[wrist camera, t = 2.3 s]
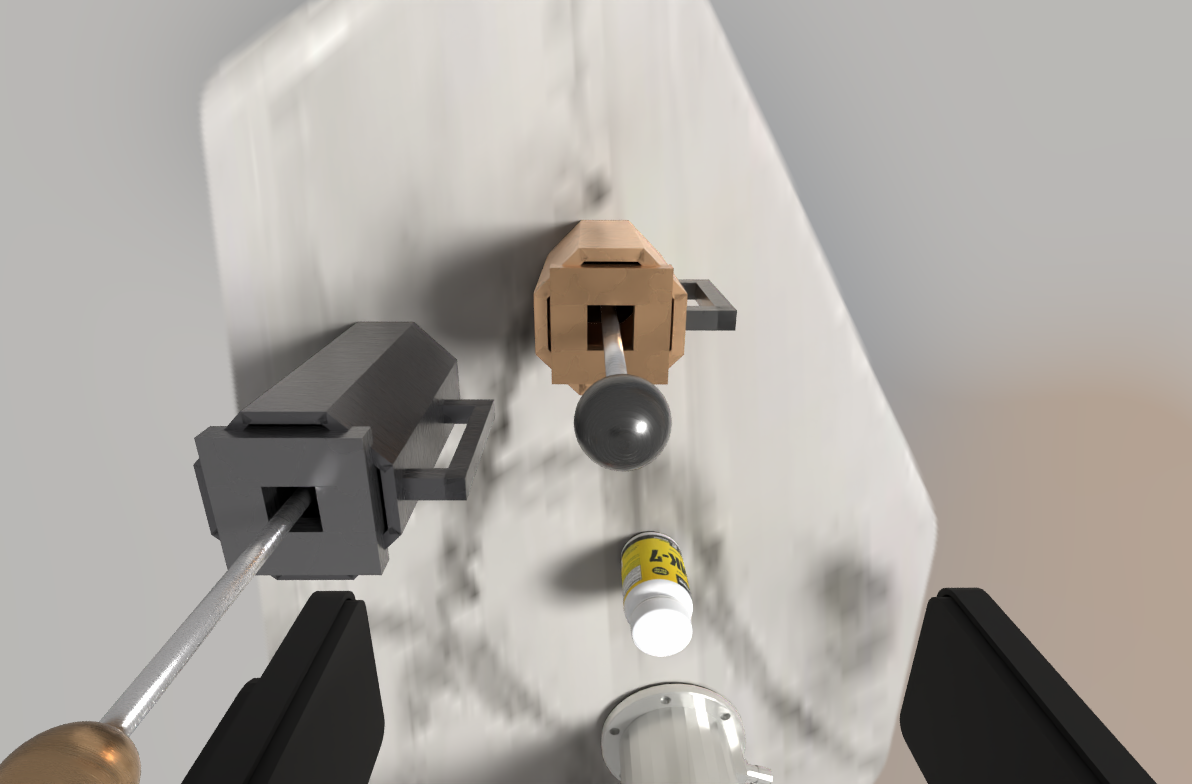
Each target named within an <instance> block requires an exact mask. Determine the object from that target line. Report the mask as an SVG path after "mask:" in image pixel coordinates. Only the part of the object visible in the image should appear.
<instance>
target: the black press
mask: <svg viewBox="0 0 1192 784" xmlns="http://www.w3.org/2000/svg"><path fill="white" fill-rule="evenodd" d="M494 419H495V408H494V400H460V392H459V380H458V367H457V360H456V359H455V358H454V357H453V356H452V355H451V354H450V353H448V352H447V351H446V350H445V349H444V348H443V347H442V346H441V345H439V344H438V343H437V342H436V341H435V340H434V339H433V338H431V337H430V336H429V335H428V334H427V333H426V332H425V331H424V330H422V329H421V328H420V327H419V326H418V325H417V324H416V323H414V322H357V323H355V324H354V325H353V326H352V327H350V328H349V329H348V330H346V331H345V332H344V333H342V334H341V335H340V336H338V337H337V338H336V339H335V340H333V341H332V342H331V343H329V344H328V345H327V346H325V347H324V348H323V349H321V350H320V351H319V352H317V353H316V354H315V355H314V356H312V357H311V358H310V359H308V360H307V361H306V362H304V363H303V364H302V365H300V366H299V367H298V368H296V369H295V370H294V371H293V372H291V373H290V374H289V375H287V376H286V377H285V378H283V379H282V380H281V381H279V382H278V383H277V384H276V385H274V386H273V387H272V388H270V389H269V390H268V391H266V392H265V393H264V394H262V395H261V396H260V397H258V398H257V399H256V400H255V401H253V402H252V403H251V404H249V405H248V406H247V407H245V408H244V409H243V410H241V411H240V412H239V414H238V415H237V416H236V417H235V418H234V419H233V420H232V421H231V423H230V424H229V425H228V426H210V427H208V428H207V429H206V430H204V431H203V432H202V433H200V434H199V435H198V436H196V437H195V438H194V439H195V442H196V446H197V450H198V454H199V459H198V460H197V461H196V462H195V464H194V469H195V473H196V477H197V481H198V485H199V489H200V492H201V496H202V500H203V504H204V508H205V512H206V516H207V520H208V523H209V527H210V531H211V535H213V536H214V537H216V538H217V539H219V540H220V541H221V545H222V549H223V553H224V557H225V561H226V565H227V569H229V568H230V567H231V566H232V565H233V564H234V562H235V561H236V560H237V559H238V558H239V556H240V555H241V554H242V553H243V552H244V551H245V549H246V548H247V547H248V546H249V545H250V544H251V542H252V541H253V540H254V539H255V538H256V536H257V535H258V534H259V533H260V532H261V531H262V529H263V528H264V527H265V526H266V525H267V523H268V522H269V521H270V520H271V519H272V518H273V516H274V515H275V514H276V513H277V512H278V511H279V509H280V508H281V507H282V506H283V505H284V503H285V502H286V501H287V500H288V499H289V498H290V496H291V495H292V494H293V493H294V492H295V490H296V489H297V488H298V487H315V489H316V495H317V496H316V497H315V498H314V500H313V501H312V502H311V503H310V505H309V506H308V507H307V509H306V510H305V511H304V512H303V514H302V515H301V516H300V518H299V519H298V520H297V521H296V523H295V524H294V525H293V527H292V528H291V529H290V530H289V532H288V533H287V534H286V536H285V537H284V538H283V539H282V541H281V542H280V543H279V545H278V546H277V547H276V548H275V550H274V551H273V552H272V554H271V555H270V556H269V557H268V559H267V560H266V561H265V563H264V564H263V565H262V566H261V568H260V569H259V570H258V572H257V573H256V574H255V575H271V576H272V577H274V578H275V579H277V580H354V579H355V578H356V577H357V576H358V575H382V574H383V571H384V569H385V567H386V565H387V563H388V561H389V554H388V547H389V546H390V545H391V544H392V543H393V542H394V541H395V540H396V539H397V538H398V537H399V536H400V535H401V534H402V532H403V530H404V528H405V526H406V524H407V522H408V520H409V518H410V516H411V514H412V512H413V510H414V507H415V505H416V503H417V501H418V500H467V497H468V495H469V492H470V489H471V486H472V483H473V480H474V477H475V474H476V471H477V468H478V465H479V462H480V459H481V457H482V454H483V451H484V448H485V445H486V442H487V439H488V436H489V433H490V430H491V427H492V424H493V421H494ZM454 424H467V426H466V428H465V431H464V433H463V435H462V438H461V440H460V442H459V445H458V447H457V449H456V452H455V454H454V456H453V458H452V461H451V463H450V465H449V468H434V466H435V464H436V462H437V459H438V457H439V455H440V453H441V451H442V449H443V447H444V445H445V443H446V441H447V439H448V437H449V434H450V432H451V430H452V428H453V426H454Z"/></svg>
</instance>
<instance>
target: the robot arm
mask: <svg viewBox="0 0 1192 784" xmlns="http://www.w3.org/2000/svg"><path fill="white" fill-rule="evenodd" d="M384 724H385V721H384V713H383V707H382V701H381V695H380V689H379V683H378V677H377V671H376V665H375V659H374V653H373V647H372V640H371V634H370V628H369V622H368V616H367V610H366V605H365V602H364V601H363V600H355V596H354V594H353V593H352V592H351V591H316V592H314V593H313V594H312V595H311V596H310V598H309V599H308V601H307V602H306V604H305V606H304V607H303V609H302V611H301V612H300V614H299V616H298V617H297V619H296V620H295V622H294V624H293V625H292V627H291V629H290V630H289V632H288V633H287V635H286V637H285V638H284V640H283V642H282V643H281V645H280V647H279V648H278V650H277V651H276V653H275V655H274V656H273V658H272V660H271V661H270V663H269V665H268V666H267V668H266V669H265V671H264V673H263V674H262V676H261V678H253V679H252V680H250V681H249V682H247V683H246V684H245V685H244V687H243V688H242V689H241V691H240V692H239V693H238V695H237V697H236V698H235V700H234V701H233V703H232V704H231V706H230V708H229V709H228V711H227V712H226V714H225V715H224V717H223V718H222V720H221V722H220V723H219V725H218V726H217V728H216V730H215V731H214V733H213V734H212V736H211V737H210V739H209V740H208V742H207V744H206V745H205V747H204V748H203V750H202V752H201V753H200V755H199V756H198V758H197V759H196V761H195V763H194V764H193V766H192V767H191V769H190V770H189V772H188V774H187V775H186V777H185V778H184V780H183V781H182V783H181V784H368V782H369V779H370V776H371V773H372V770H373V767H374V765H375V762H376V759H377V756H378V753H379V750H380V747H381V744H382V740H383V735H384ZM900 726H901V731H902V734H903V737H904V739H905V742H906V743H907V745H908V747H909V749H910V751H911V753H912V755H913V757H914V758H915V760H916V762H917V764H918V766H919V768H920V770H921V772H922V773H923V775H924V777H925V779H926V781H927V783H928V784H1156V782H1155V781H1154V780H1153V779H1152V778H1151V777H1150V776H1149V774H1148V773H1147V772H1146V771H1145V770H1144V769H1143V768H1142V767H1141V766H1140V764H1139V763H1138V762H1137V761H1136V760H1135V759H1134V758H1133V756H1132V755H1131V754H1130V753H1129V752H1128V751H1127V750H1126V749H1125V747H1124V746H1123V745H1122V744H1121V743H1120V742H1119V741H1118V740H1117V738H1115V736H1114V735H1113V734H1112V733H1111V732H1110V731H1109V730H1108V728H1107V727H1106V726H1105V725H1104V724H1103V723H1102V722H1101V721H1100V719H1099V718H1098V717H1097V716H1096V715H1095V714H1094V713H1093V712H1092V710H1091V709H1090V708H1089V707H1088V706H1087V705H1086V704H1085V703H1084V701H1083V700H1082V699H1081V698H1080V697H1079V696H1078V695H1077V694H1076V693H1075V691H1074V690H1073V689H1072V688H1071V687H1070V686H1069V685H1068V684H1067V682H1066V681H1065V680H1064V679H1063V678H1062V677H1061V676H1060V674H1059V673H1058V672H1057V671H1056V670H1055V669H1054V668H1053V667H1052V665H1051V664H1050V663H1049V662H1048V661H1047V660H1046V659H1045V658H1044V656H1043V655H1042V654H1041V653H1040V652H1039V651H1038V650H1037V649H1036V648H1035V646H1034V645H1033V644H1032V643H1031V642H1030V641H1029V640H1028V638H1027V637H1026V636H1025V635H1024V634H1023V633H1022V632H1021V631H1020V629H1019V628H1018V627H1017V626H1016V625H1015V624H1014V623H1013V622H1012V621H1011V620H1010V618H1009V617H1008V616H1007V615H1006V614H1005V613H1004V612H1003V610H1002V609H1001V608H1000V607H999V606H998V605H997V604H996V603H995V601H994V600H993V599H992V598H991V597H990V596H989V595H988V594H987V593H986V592H985V591H984V590H983V589H980V588H943V589H941V590H940V591H939V592H938V595H937V597H932V598H931V599H930V600H929V602H928V604H927V608H926V612H925V616H924V620H923V625H922V629H921V633H920V637H919V641H918V645H917V649H916V653H915V657H914V661H913V665H912V669H911V673H910V677H909V681H908V685H907V689H906V693H905V697H904V701H903V705H902V709H901V713H900ZM745 744H746V738H745V730H744V727H743V723H742V720H741V718H740V716H739V714H738V712H737V710H736V709H735V708H734V707H733V706H732V704H731V703H730V702H729V701H728V700H726V699H725V698H723V697H722V696H721V695H719V694H717V693H715V692H713V691H711V690H709V689H706V688H702V687H699V686H695V685H687V684H665V685H659V686H653V687H650V688H647V689H644V690H641V691H639V692H637V693H635V694H633V695H631V696H629V697H627V698H626V699H625V700H623V701H622V702H621V703H619V704H618V705H617V706H616V707H615V708H614V709H613V711H612V712H611V713H610V714H609V716H608V718H607V719H606V721H605V723H604V726H603V730H602V736H601V748H602V756H603V759H604V762H605V764H606V766H607V767H608V769H609V770H610V772H611V773H612V774H613V775H614V776H615V777H616V778H617V779H618V780H619V781H621V784H754V783H756V784H771V783H772V778H773V776H772V771H771V769H769V768H765V767H761V766H757V765H755V766H754V765H750V764H748V762H747V761H746V759H744V757H743V753H744V751H745ZM747 780H748V781H752V782H753V783H745V782H746V781H747Z"/></svg>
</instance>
